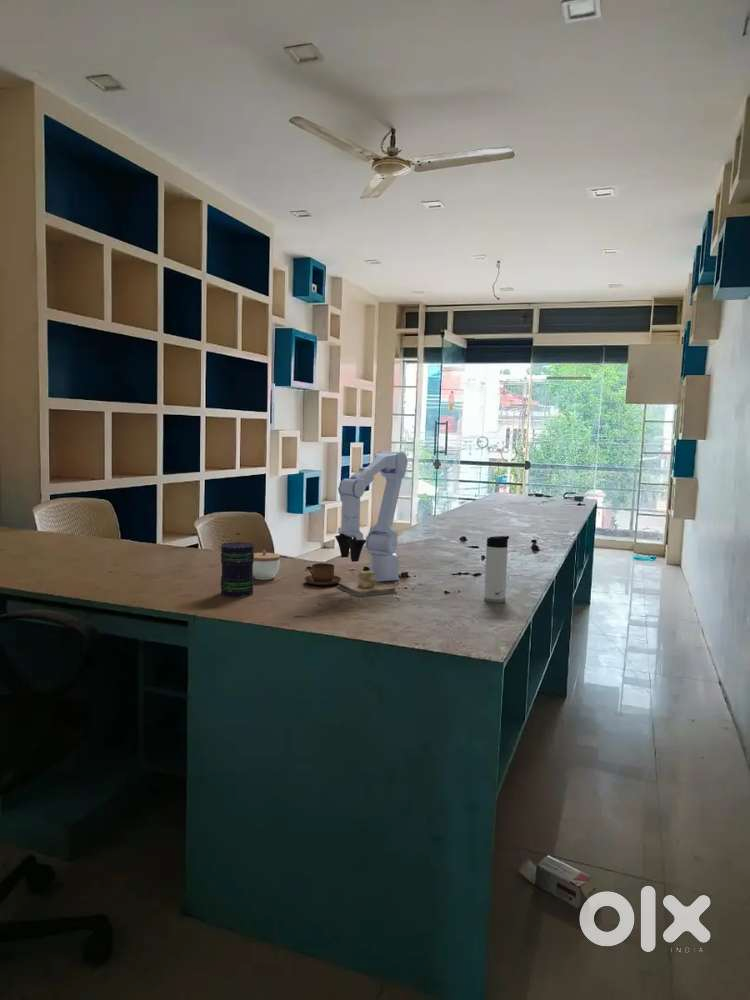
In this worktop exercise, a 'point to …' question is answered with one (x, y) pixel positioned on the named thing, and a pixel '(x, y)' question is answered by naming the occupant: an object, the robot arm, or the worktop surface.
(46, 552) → the worktop surface
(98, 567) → the worktop surface
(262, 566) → the lidded jar
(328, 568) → the cup and saucer
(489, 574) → the travel mug
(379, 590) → the lid
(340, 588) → the mat
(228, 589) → the storage jar
